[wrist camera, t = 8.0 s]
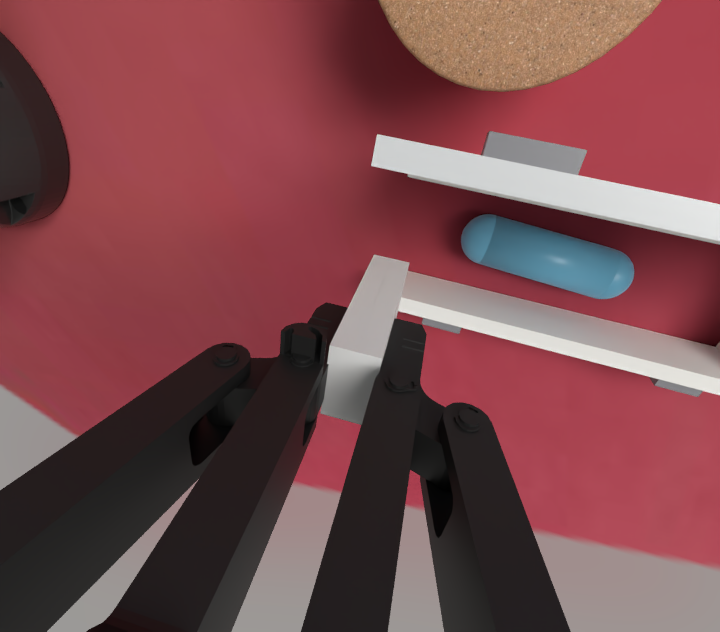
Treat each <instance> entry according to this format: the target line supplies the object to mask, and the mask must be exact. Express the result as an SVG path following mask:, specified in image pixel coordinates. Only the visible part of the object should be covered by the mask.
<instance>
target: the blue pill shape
mask: <svg viewBox="0 0 720 632" xmlns="http://www.w3.org/2000/svg"><path fill="white" fill-rule="evenodd" d="M461 246H462V249H463V252H464V253H465V255H466V256H467V257H468V258H469V259H470V260H472V261H473V262H475V263H478V264H481V265H484V266H488V267H491V268H494V269H498V270H501V271H504V272H508V273H511V274H514V275H518V276H521V277H525V278H528V279H531V280H535V281H538V282H541V283H545V284H548V285H551V286H555V287H558V288H562V289H565V290H568V291H572V292H575V293H578V294H582V295H585V296H589V297H592V298H596V299H609V298H613V297H616V296H618V295H620V294H622V293H623V292H625V291H626V290H627V289H628V287H629V286H630V285H631V283H632V281H633V278H634V266H633V263H632V261H631V260H630V258H629V257H628V256H627V255H626V254H624V253H623V252H621V251H619V250H616V249H613V248H610V247H606V246H603V245H599V244H596V243H592V242H589V241H585V240H582V239H578V238H575V237H571V236H568V235H564V234H561V233H557V232H553V231H550V230H546V229H543V228H539V227H536V226H532V225H529V224H525V223H522V222H518V221H515V220H511V219H508V218H504V217H501V216H497V215H493V214H484V215H480V216H478V217H475V218H474V219H472V220H471V221H470V222H469V223H468V224H467V225H466V227H465V228H464V230H463V232H462V236H461Z"/></svg>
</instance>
